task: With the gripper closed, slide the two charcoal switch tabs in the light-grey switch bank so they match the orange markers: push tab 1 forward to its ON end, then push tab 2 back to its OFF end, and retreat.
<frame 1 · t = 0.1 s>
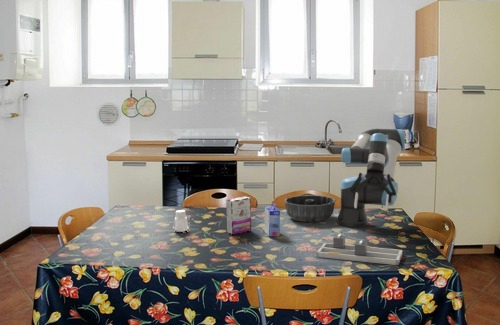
hand: (370, 208, 249), 15 cm above the table, tool tilted 35°, fingers open, 13 cm apart
ink cartridge box: (272, 234, 266), on the table
switch bank: (359, 258, 229), on the table
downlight: (181, 231, 273), on the table
tab 2: (360, 250, 225), point 5 cm above the table, slide at 10.0 cm
candy bar box: (239, 232, 270), on the table
bundt pan: (309, 218, 295), on the table
tab 1: (339, 243, 234), point 5 cm above the table, slide at 0.0 cm
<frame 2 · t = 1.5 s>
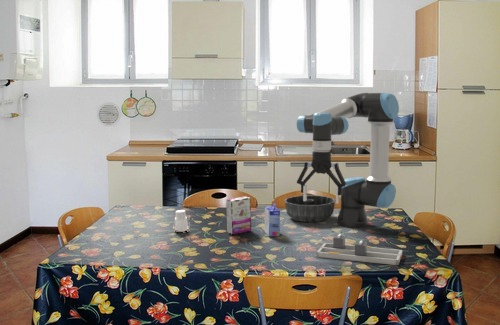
hand: (320, 201, 235), 21 cm above the table, tool pointing down, fingers open, 13 cm apart
nothing on the table moved.
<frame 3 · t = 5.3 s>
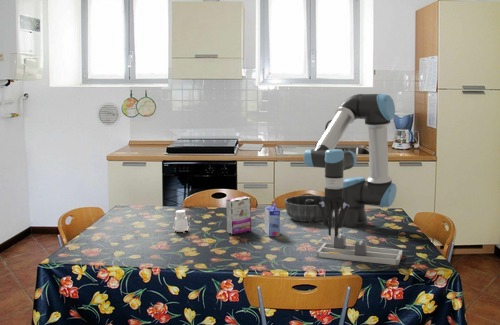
hand: (333, 243, 235), 4 cm above the table, tool pointing down, fingers closed
tab 1: (339, 243, 234), point 5 cm above the table, slide at 0.3 cm, touching gripper
everything else where it was.
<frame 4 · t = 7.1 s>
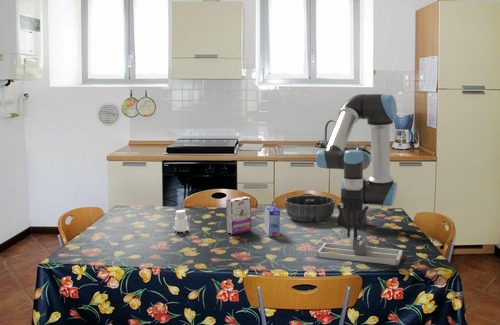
hand: (352, 245, 232), 4 cm above the table, tool pointing down, fingers closed
tab 1: (358, 244, 231), point 5 cm above the table, slide at 8.1 cm, touching gripper
everything else where it was.
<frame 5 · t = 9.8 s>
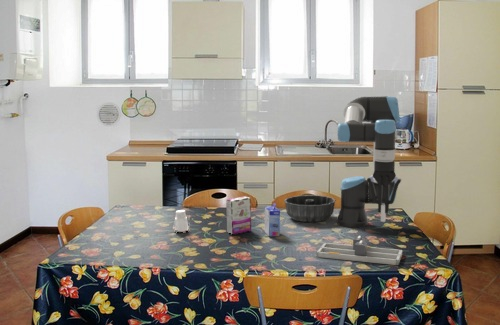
hand: (383, 220, 219), 17 cm above the table, tool pointing down, fingers closed
tab 1: (359, 244, 231), point 5 cm above the table, slide at 8.2 cm
everything else where it was.
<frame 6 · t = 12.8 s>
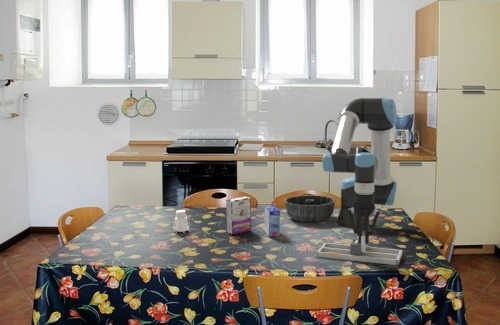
hand: (363, 251, 224), 4 cm above the table, tool pointing down, fingers closed
tab 2: (356, 249, 225), point 5 cm above the table, slide at 8.3 cm, touching gripper
everything else where it was.
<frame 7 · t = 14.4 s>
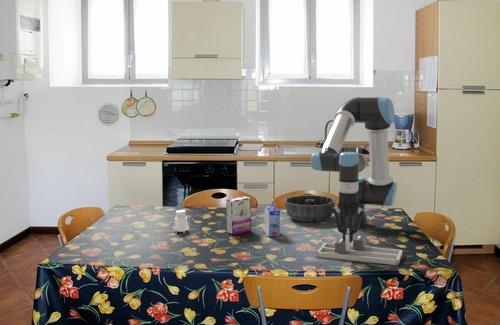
hand: (347, 249, 226), 4 cm above the table, tool pointing down, fingers closed
tab 2: (341, 248, 227), point 5 cm above the table, slide at 2.1 cm, touching gripper
everything else where it was.
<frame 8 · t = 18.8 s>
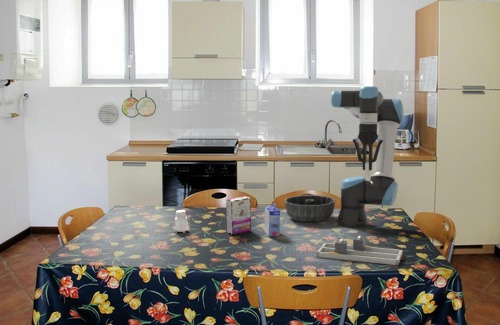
hand: (367, 177, 244), 29 cm above the table, tool pointing down, fingers closed
tab 2: (340, 248, 227), point 5 cm above the table, slide at 2.1 cm
everything else where it was.
at the end: tab 1 slide at 8.2 cm; tab 2 slide at 2.1 cm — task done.
